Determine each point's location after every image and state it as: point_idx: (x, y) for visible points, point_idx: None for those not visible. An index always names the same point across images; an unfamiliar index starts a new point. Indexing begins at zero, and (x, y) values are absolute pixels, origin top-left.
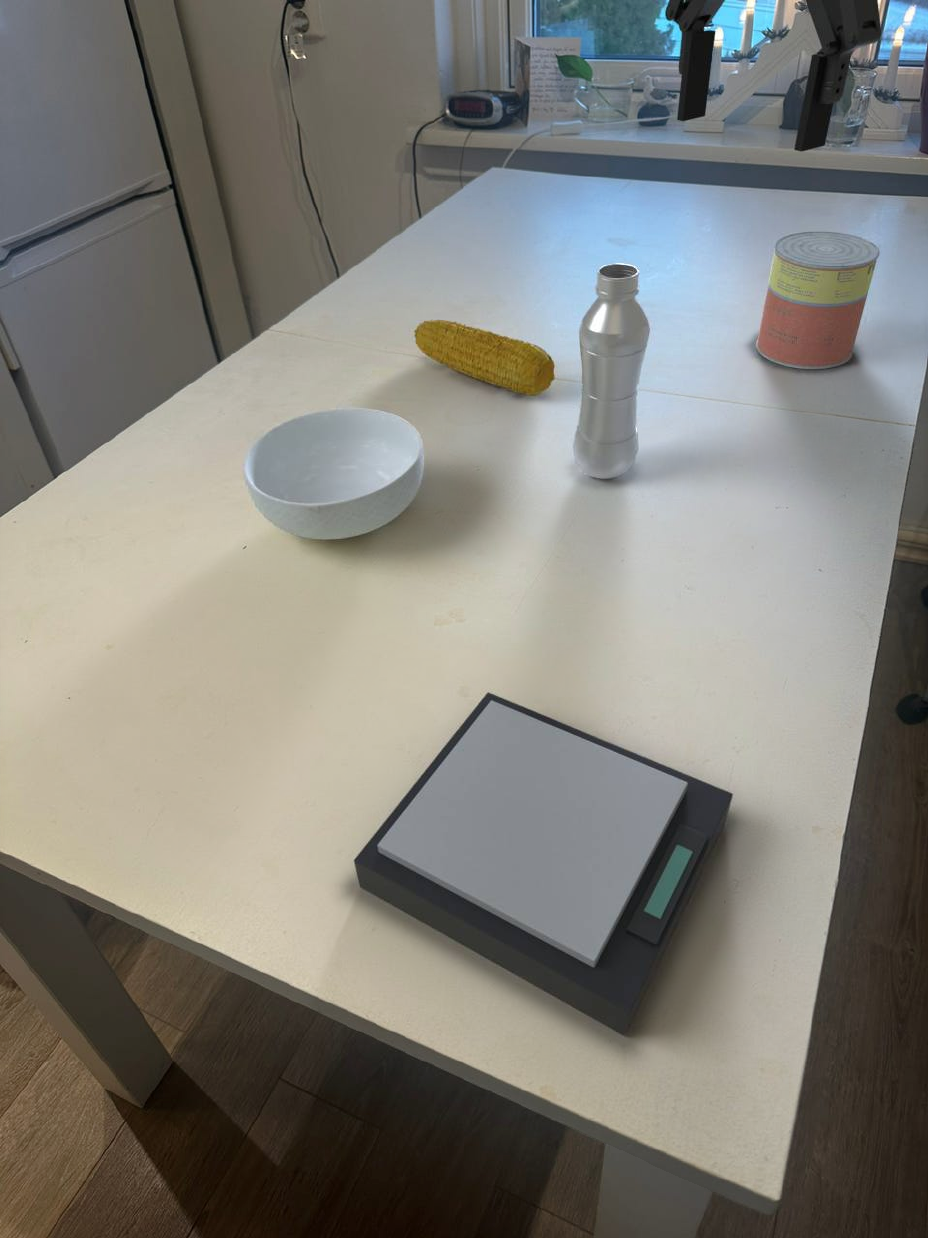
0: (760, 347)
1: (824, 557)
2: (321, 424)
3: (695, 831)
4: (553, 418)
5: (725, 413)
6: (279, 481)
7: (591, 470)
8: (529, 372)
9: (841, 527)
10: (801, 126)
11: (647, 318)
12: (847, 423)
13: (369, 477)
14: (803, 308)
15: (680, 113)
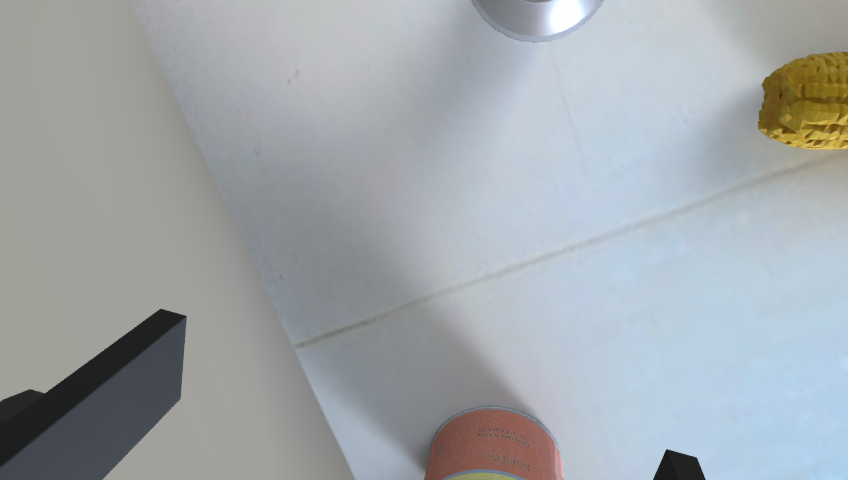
0: (539, 428)
1: (199, 15)
2: None
3: None
4: (700, 59)
5: (481, 243)
6: None
7: None
8: (793, 69)
9: (221, 87)
10: (138, 344)
11: (482, 6)
12: (345, 312)
13: None
14: (473, 465)
15: (688, 469)
